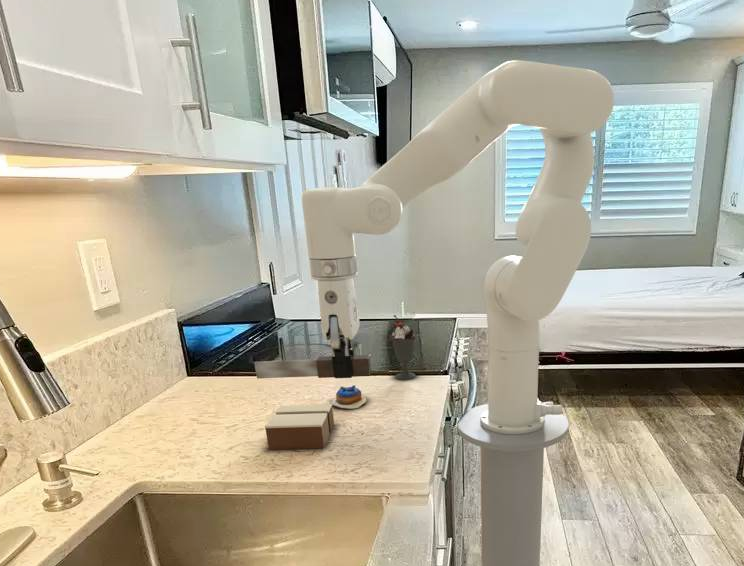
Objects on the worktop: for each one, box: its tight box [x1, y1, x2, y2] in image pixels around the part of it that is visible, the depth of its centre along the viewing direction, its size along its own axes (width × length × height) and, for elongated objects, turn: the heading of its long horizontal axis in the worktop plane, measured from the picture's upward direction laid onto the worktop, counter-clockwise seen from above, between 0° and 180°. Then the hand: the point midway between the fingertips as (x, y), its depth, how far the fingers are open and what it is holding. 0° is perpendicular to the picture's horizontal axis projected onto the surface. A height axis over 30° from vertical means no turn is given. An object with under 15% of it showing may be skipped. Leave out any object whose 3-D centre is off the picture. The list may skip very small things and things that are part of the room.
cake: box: [264, 413, 331, 450], centre depth 104 cm, size 10×6×5 cm, turn 90°
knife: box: [254, 354, 372, 379], centre depth 100 cm, size 20×2×3 cm, turn 91°
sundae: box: [388, 314, 418, 381], centre depth 136 cm, size 7×7×15 cm
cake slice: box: [275, 403, 335, 434], centre depth 109 cm, size 10×4×5 cm, turn 90°
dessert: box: [330, 385, 367, 410], centre depth 123 cm, size 8×7×6 cm
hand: (345, 373), depth 100 cm, fingers closed on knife, 2 cm apart
